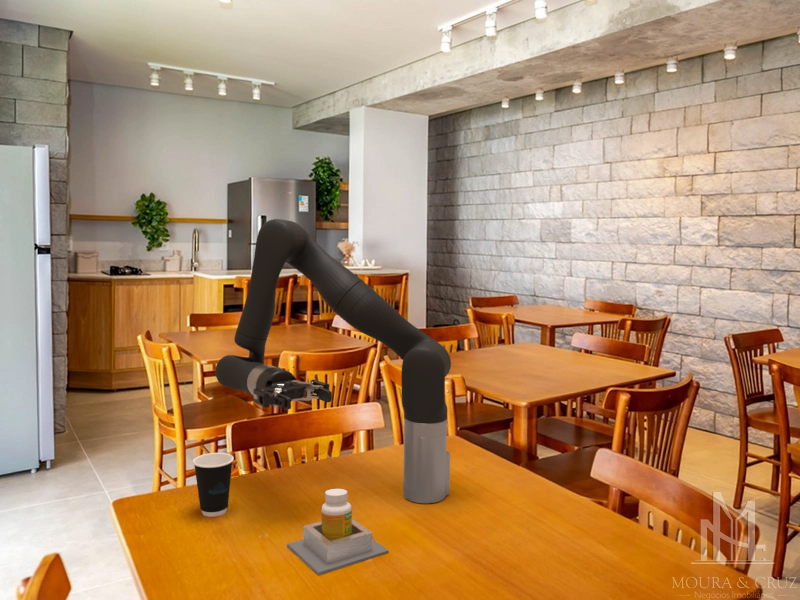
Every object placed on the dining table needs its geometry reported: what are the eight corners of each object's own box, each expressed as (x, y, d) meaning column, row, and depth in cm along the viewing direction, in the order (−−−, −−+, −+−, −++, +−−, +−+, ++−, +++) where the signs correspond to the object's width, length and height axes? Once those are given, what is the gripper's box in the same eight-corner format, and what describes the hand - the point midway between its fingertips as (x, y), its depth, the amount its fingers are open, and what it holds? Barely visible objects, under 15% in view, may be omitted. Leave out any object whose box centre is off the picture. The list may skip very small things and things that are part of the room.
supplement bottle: (349, 552, 115) (348, 497, 115) (319, 551, 116) (318, 496, 115) (354, 540, 121) (353, 487, 120) (325, 539, 121) (324, 486, 121)
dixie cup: (218, 523, 128) (217, 468, 127) (185, 516, 131) (184, 462, 130) (242, 507, 136) (241, 455, 135) (210, 501, 138) (209, 450, 137)
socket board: (353, 531, 127) (353, 508, 127) (388, 556, 117) (388, 532, 117) (287, 550, 119) (287, 526, 119) (318, 579, 109) (318, 553, 109)
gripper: (238, 371, 132) (274, 386, 119) (302, 362, 140) (342, 375, 127) (239, 408, 133) (275, 426, 120) (302, 397, 141) (342, 413, 128)
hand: (309, 400), depth 124 cm, fingers open, 8 cm apart
